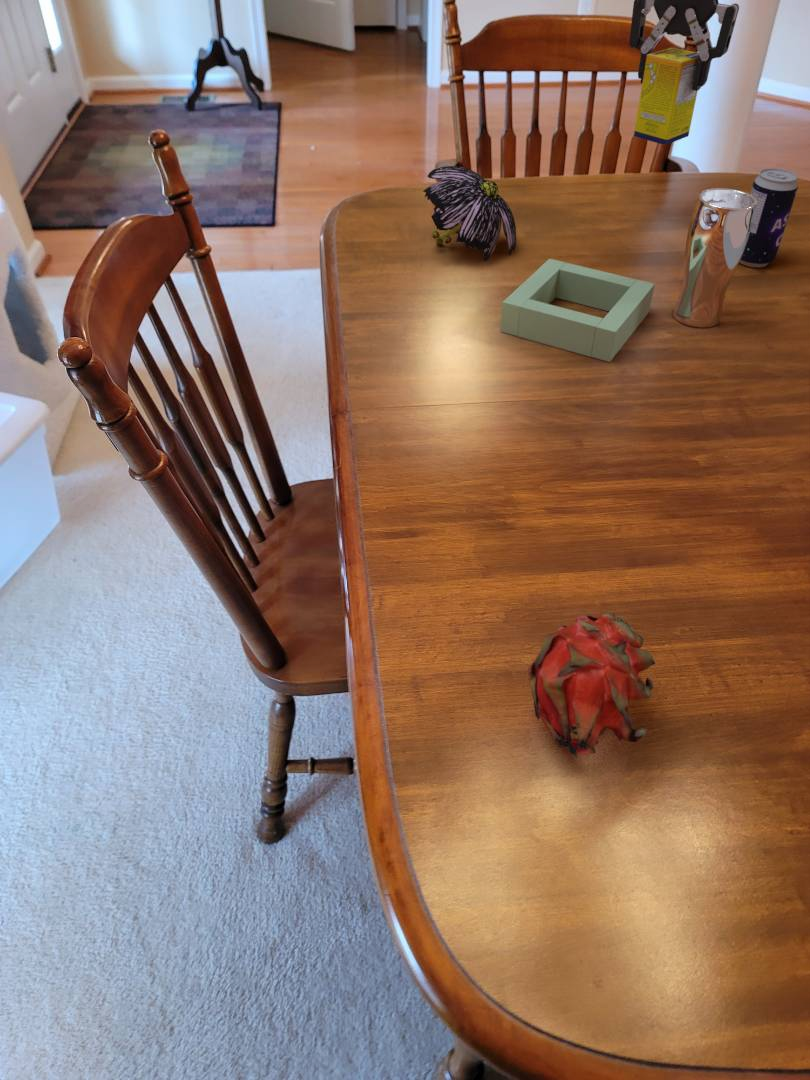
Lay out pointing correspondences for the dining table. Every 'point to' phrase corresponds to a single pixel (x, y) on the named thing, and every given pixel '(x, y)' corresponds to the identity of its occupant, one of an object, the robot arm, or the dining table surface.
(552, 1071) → the dining table surface
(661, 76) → the supplement box
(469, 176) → the decorative flower
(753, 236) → the beverage can
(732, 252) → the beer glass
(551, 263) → the socket
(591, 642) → the dragon fruit
